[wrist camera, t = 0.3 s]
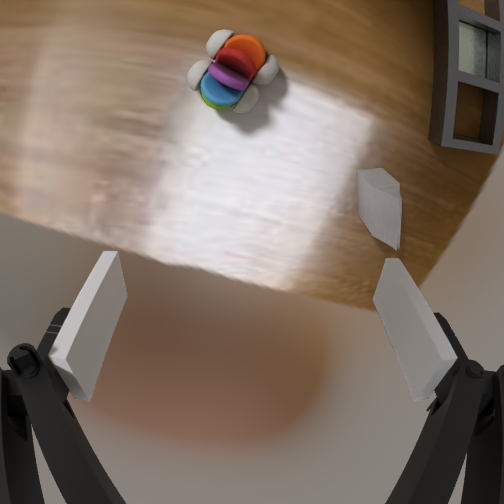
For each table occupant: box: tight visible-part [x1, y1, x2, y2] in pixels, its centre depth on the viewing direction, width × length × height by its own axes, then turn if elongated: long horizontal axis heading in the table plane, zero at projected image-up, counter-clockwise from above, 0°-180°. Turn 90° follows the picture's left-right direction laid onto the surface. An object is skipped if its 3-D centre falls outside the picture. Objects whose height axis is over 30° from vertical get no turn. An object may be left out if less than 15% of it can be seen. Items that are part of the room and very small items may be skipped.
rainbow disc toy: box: [187, 30, 279, 113], centre depth 31 cm, size 8×10×7 cm
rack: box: [428, 0, 504, 155], centre depth 29 cm, size 30×12×4 cm, turn 2°
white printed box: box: [357, 168, 402, 251], centre depth 38 cm, size 4×7×10 cm, turn 10°
